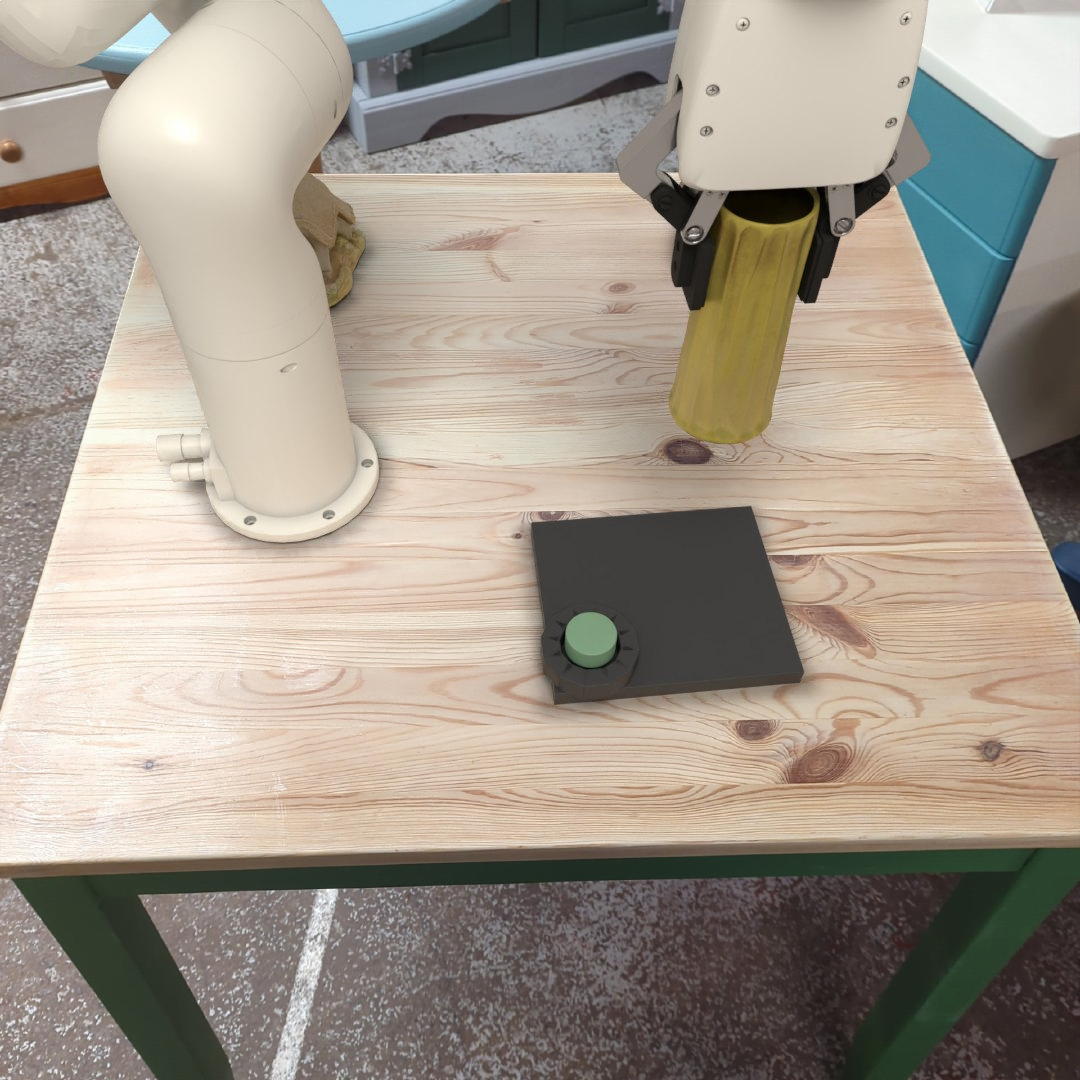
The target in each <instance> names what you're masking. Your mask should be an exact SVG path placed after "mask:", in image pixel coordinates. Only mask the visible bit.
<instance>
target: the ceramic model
mask: <svg viewBox="0 0 1080 1080" xmlns="http://www.w3.org/2000/svg"><path fill="white" fill-rule="evenodd" d="M292 212H293V217H294V220H295V222H296V225H297V227H298V228H299V230H300V231H301V233H302V234H303V235H304V237H305V238H306V239H307V240H308V242H309V243H310V244H311V246H312V248H313V250H314V251H315V254H316V256H317V259H318V261H319V264H320V268H321V271H322V275H323V280H324V284H325V290H326V295H327V300H328V305H329V308H331V307H332V306H335V305H336V304H338V303H339V302H341V300H342V299H344V298H345V296H347V295H348V294H349V293H350V291H351V290H352V288H353V285H354V279H353V277H354V276H353V272H354V270H355V269H356V268H357V264H358V262H359V260H360V258H361V256H362V254H363V253H364V251H365V248H366V236H365V234H364V232H363V231H362V230H359V229H357V227H356V228H355V227H353V226H352V225H355V224H356V223H357V221H356V215H355V213H354V209H353V206H352V205H351V204H349V202H347V201H345V200H343V199H341V198H339V196H336V195H335V194H334V193H333V192H331V190H330V189H329V187H328V186H327V185H326V184H325V182H323V181H321V180H320V179H319V178H317V177H316V176H315V175H313V174H312V173H311V172H309V170H308V171H307V173H306V174H305V175H304V177H303V178H302V180H301V181H300V183H299V184H298V186H297V188H296V191H295V194H294V198H293V204H292Z"/></svg>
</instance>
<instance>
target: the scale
mask: <svg viewBox="0 0 1080 1080" xmlns="http://www.w3.org/2000/svg"><path fill="white" fill-rule="evenodd" d="M530 538H531V539H530V540H531V544H532V545H531V546H532V553H533V560H534V567H535V575H536V583H537V588H538V596H539V604H540V611H541V618H542V626H543V631H542V634H541V635H540V646H539V648H540V649H539V652H540V659H541V667H542V671H543V674H544V675H545V676H546V677H547V678H548V679H549V680H550V684H551V691H552V692H551V693H552V699H553V705H554V706H558V705H559V706H560V705H569V704H570V705H571V704H580V703H582V704H583V703H592V702H604V701H614V700H615V701H616V700H623V699H625V700H626V699H636V698H637V699H638V698H647V697H659V696H668V695H669V696H670V695H680V694H681V695H682V694H689V693H703V692H713V691H724V690H732V689H733V690H737V689H746V688H759V687H768V686H769V687H770V686H779V685H780V686H781V685H789V684H790V685H792V684H800V683H801V681H802V678H803V676H804V674H805V670H804V666H803V663H802V660H801V657H800V654H799V651H798V648H797V645H796V641H795V639H794V636H793V632H792V629H791V626H790V622H789V619H788V617H787V616H788V615H787V613H786V610H785V607H784V604H783V601H782V597H781V594H780V592H779V589H778V585H777V582H776V579H775V576H774V573H773V571H772V570H773V569H772V566H771V564H770V560H769V557H768V554H767V550H766V548H765V545H764V541H763V539H762V535H761V532H760V529H759V526H758V522H757V520H756V517H755V513H754V510H753V507H752V505H745V506H743V505H742V506H732V507H731V506H730V507H717V508H703V509H692V510H691V509H690V510H680V511H664V512H652V513H639V514H638V513H637V514H626V515H625V514H624V515H612V516H611V515H609V516H598V517H586V518H585V517H583V518H571V519H558V520H557V519H556V520H543V521H531V522H530ZM586 612H595V613H599V614H602V615H604V616H606V617H607V618H609V619H610V620H611V621H612V622H613V624H614V625H615V627H616V630H617V642H616V649H615V653H614V655H613V657H612V658H611V660H610V661H609V662H607V663H606V664H604V665H602V666H599V667H595V668H587V667H583V666H580V665H578V664H576V663H574V662H573V661H572V660H571V659H570V658H569V657H568V655H567V653H566V650H565V634H566V627H567V625H568V623H569V622H570V621H571V620H572V619H573V618H574V617H575V616H577V615H579V614H581V613H586Z"/></svg>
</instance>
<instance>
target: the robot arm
mask: <svg viewBox="0 0 1080 1080" xmlns="http://www.w3.org/2000/svg"><path fill="white" fill-rule="evenodd" d="M928 7H929V0H685V1H684V4H683V9H682V12H681V16H680V21H679V25H678V30H677V33H676V34H677V35H676V38H675V42H674V49H673V54H672V58H671V63H670V68H669V72H668V78H667V83H666V90H665V91H666V92H665V95H664V102H663V107H662V108H661V109H660V110H659V111H658V112H657V113H656V115H654V116H653V117H652V119H650V121H649V122H648V123H647V124H645V126H644V127H643V128H642V129H641V130H640V131H639V132H638V133H637V134H636V135H635V136H634V137H633V138H632V140H631V141H630V142H629V143H628V144H627V145H626V146H625V147H624V148H623V149H622V150H621V151H620V152H619V153H618V154H617V156H616V158H615V160H614V161H615V163H614V164H615V167H616V170H617V174H618V176H619V180H620V181H621V183H623V184H624V185H625V186H626V187H628V189H630V190H631V191H633V192H634V193H635V194H636V195H638V197H641V198H642V199H643V200H646V201H647V202H648V203H649V204H651V205H652V207H653V209H654V210H655V211H656V212H657V213H658V214H659V215H660V216H661V217H662V218H663V219H664V220H665V221H666V222H667V223H668V224H669V225H670V226H672V228H673V229H675V235H674V241H673V242H674V243H673V249H672V255H671V261H670V263H671V264H670V276H671V281H672V284H673V287H674V288H681V289H682V292H683V296H684V299H685V301H686V305H687V309H688V310H689V312H690V311H693V310H700V309H701V307H704V305H705V300H706V294H707V289H708V283H709V278H710V273H711V267H712V262H713V256H714V243H713V241H712V238H711V235H710V233H709V231H710V227H711V225H712V224H713V222H714V220H715V218H716V216H717V214H718V212H719V210H720V208H721V207H722V205H723V203H724V201H725V199H726V197H727V195H728V193H729V191H742V190H765V189H785V188H803V187H814V188H815V189H816V190H817V192H818V194H819V196H820V209H819V214H818V220H817V224H816V228H815V232H814V236H813V239H812V243H811V247H810V250H809V254H808V257H807V260H806V264H805V267H804V271H803V275H802V279H801V282H800V286H799V290H798V293H797V296H798V299H799V301H800V302H803V304H816V302H817V300H818V296H819V294H820V290H821V286H822V283H823V280H825V279H828V278H829V277H830V274H831V271H832V267H833V264H834V262H835V261H834V260H835V257H836V254H837V251H838V247H839V244H840V240H841V237H845V236H847V235H849V234H851V232H852V231H853V230H854V229H855V227H856V222H857V221H856V220H857V219H858V218H859V217H861V216H863V214H866V212H867V211H869V210H870V209H871V208H873V207H874V206H876V205H877V204H878V203H880V202H881V201H882V200H884V199H885V198H886V197H887V196H888V195H889V193H890V192H891V188H893V187H894V186H895V187H897V186H899V185H901V184H902V183H904V182H905V181H906V180H908V179H910V178H911V177H912V176H914V175H915V174H917V173H918V172H920V171H921V170H923V169H924V168H926V167H927V166H928V165H929V163H930V162H931V159H932V154H931V152H930V150H929V148H928V147H927V145H926V143H925V141H924V140H923V137H922V135H921V134H920V132H919V131H918V129H917V127H916V124H915V123H914V121H913V119H912V118H911V116H910V114H909V112H908V109H909V106H910V105H909V104H910V101H911V97H912V94H913V88H914V84H915V80H916V76H917V72H918V67H919V63H920V58H921V57H920V56H921V53H922V52H921V51H922V47H923V42H924V36H925V28H926V23H927V15H928ZM149 14H152V15H153V17H154V18H155V19H156V20H157V21H158V22H159V23H160V24H161V25H162V26H163V28H165V30H166V31H167V32H168V33H169V35H168V36H167V37H166V39H164V40H163V41H162V42H161V43H160V44H159V45H158V46H157V47H156V48H155V49H154V50H153V51H151V53H150V54H149V55H148V56H146V57H145V59H144V60H142V61H141V63H139V64H138V65H137V67H135V69H133V71H132V72H131V73H130V74H129V75H127V77H126V79H124V81H123V82H122V83H121V84H120V85H119V87H118V88H117V90H116V92H115V93H114V95H113V96H112V97H111V99H110V101H109V103H108V105H107V107H106V109H105V111H104V113H103V116H102V119H101V122H100V126H99V130H98V135H97V144H96V146H97V148H96V149H97V150H96V151H97V161H98V167H99V170H100V174H101V177H102V180H103V183H104V185H105V187H106V189H107V191H108V194H109V196H110V197H111V199H112V201H113V203H114V204H115V207H116V208H117V209H118V211H119V214H120V215H121V216H122V218H123V220H124V221H125V223H126V224H127V227H129V229H130V231H131V232H132V234H133V235H134V237H135V239H136V241H137V243H138V244H139V246H140V248H141V249H142V252H143V254H144V255H145V258H146V260H147V262H148V264H149V266H150V268H151V270H152V273H153V275H154V278H155V280H156V283H157V285H158V288H159V290H160V293H161V295H162V298H163V300H164V304H165V306H166V310H167V312H168V315H169V318H170V320H171V324H172V326H173V329H174V333H175V334H176V337H177V339H178V342H179V345H180V348H181V352H182V354H183V357H184V360H185V363H186V366H187V368H188V371H189V374H190V378H191V380H192V383H193V387H194V390H195V393H196V395H197V398H198V401H199V404H200V408H201V410H202V413H203V416H204V418H205V419H204V420H205V423H206V424H207V428H201V430H200V433H198V434H197V433H196V434H184V433H174V434H159V435H157V436H156V440H155V450H156V456H157V458H158V461H159V462H174V461H175V462H174V463H170V466H169V475H170V479H171V481H172V483H181V482H183V483H184V482H193V481H198V480H204V481H205V490H206V494H207V497H208V500H209V503H210V505H211V507H212V509H213V511H214V513H215V515H216V516H217V517H218V518H219V519H220V521H221V522H222V523H224V525H226V526H227V527H228V528H230V529H232V530H233V531H234V532H236V533H238V534H239V535H243V536H245V537H248V538H250V539H253V540H257V541H263V542H267V543H268V542H269V543H284V544H285V543H295V542H303V541H307V540H312V539H316V538H319V537H322V536H324V535H326V534H329V533H333V532H334V531H336V530H338V529H340V528H341V527H343V526H345V525H347V524H348V523H350V522H351V521H353V519H354V518H356V517H357V516H358V515H359V514H360V513H361V512H362V511H363V510H365V507H367V505H368V504H369V503H370V501H371V499H372V498H373V496H374V495H375V493H376V490H377V487H378V483H379V479H380V464H379V463H380V462H379V456H378V453H377V450H376V447H375V444H374V442H373V441H372V439H371V438H370V436H369V435H368V433H366V432H365V430H363V429H362V428H361V427H360V426H359V425H358V424H356V423H354V422H353V421H351V420H350V415H349V409H348V405H347V399H346V398H347V397H346V393H345V388H344V382H343V377H342V370H341V366H340V360H339V355H338V349H337V344H336V339H335V333H334V327H333V323H332V316H331V310H330V307H329V305H328V300H327V295H326V290H325V284H324V280H323V275H322V271H321V268H320V264H319V261H318V259H317V256H316V254H315V251H314V250H313V248H312V246H311V244H310V243H309V242H308V240H307V239H306V238H305V237H304V235H303V234H302V233H301V231H300V230H299V228H298V227H297V225H296V222H295V220H294V217H293V212H292V204H293V198H294V194H295V191H296V188H297V186H298V184H299V183H300V181H301V180H302V178H303V177H304V175H305V174H306V173H307V171H308V172H309V171H310V168H311V166H312V164H313V162H314V161H315V160H316V159H317V157H318V156H319V154H320V153H321V152H322V150H323V149H324V147H325V146H326V145H327V143H328V142H329V140H331V138H332V136H333V135H334V134H335V132H336V131H337V129H338V128H339V126H340V124H341V122H343V119H344V117H345V115H346V113H347V112H348V109H349V107H350V105H351V100H352V98H353V97H352V96H353V91H354V68H353V62H352V57H351V54H350V51H349V47H348V45H347V43H346V40H345V38H344V35H343V33H342V31H341V29H340V28H339V26H338V24H337V22H336V21H335V19H334V17H333V15H332V14H331V13H330V11H329V10H328V8H327V6H326V5H325V3H324V2H323V0H0V41H1V42H2V43H3V44H4V45H6V46H7V47H8V48H9V49H10V50H12V51H13V52H15V53H16V54H18V55H20V57H23V58H25V60H27V61H29V62H32V63H35V64H38V65H41V66H45V67H49V68H53V69H54V68H57V69H62V68H70V67H74V66H78V65H81V64H85V63H87V62H89V61H90V60H92V59H95V58H96V57H97V56H98V55H100V54H101V53H103V52H104V51H106V50H108V49H109V48H110V47H112V46H114V44H116V43H117V42H118V41H119V40H121V38H123V37H125V35H127V33H129V32H130V31H131V30H133V29H134V28H135V27H136V26H137V25H138V24H139V23H141V22H142V20H144V19H145V18H146V17H147V16H148V15H149ZM675 149H676V157H677V158H678V166H677V167H678V168H677V171H678V178H679V181H680V182H679V183H678V182H677V181H676V180H675V179H674V178H673V177H672V176H671V175H670V174H669V173H668V172H666V171H663V170H661V169H659V166H660V164H661V163H662V162H663V161H664V160H665V159H666V158H667V157H668V156H669V155H670V154H671V153H672V152H673V151H674V150H675ZM198 458H202V459H203V461H202V462H201V461H200V462H190V461H189V462H188V461H187V459H198ZM176 461H187V462H176Z"/></svg>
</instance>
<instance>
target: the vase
mask: <svg viewBox="0 0 1080 1080" xmlns="http://www.w3.org/2000/svg"><path fill="white" fill-rule="evenodd" d="M819 209H820V196H819V194H818V192H817V190H816V189H815V188H814V187H803V188H785V189H765V190H742V191H729V193H728V195H727V197H726V199H725V201H724V203H723V205H722V207H721V208H720V210H719V212H718V214H717V216H716V218H715V220H714V222H713V224H712V225H711V227H710V231H709V233H710V235H711V238H712V241H713V243H714V256H713V262H712V267H711V273H710V278H709V283H708V289H707V294H706V300H705V305H704V307H701V309H700V310H693V311H690V310H689V313H688V318H687V324H686V329H685V334H684V337H683V342H682V344H681V345H682V346H681V349H680V353H679V358H678V363H677V369H676V373H675V377H674V382H673V385H672V387H671V389H670V392H669V395H668V400H667V402H668V410H669V413H670V416H671V417H672V419H673V420H674V422H675V424H676V425H677V426H678V427H679V428H680V429H681V430H683V431H684V432H685V433H686V434H689V435H690V436H692V437H694V438H696V439H698V440H700V441H703V442H707V443H711V444H715V445H716V444H717V445H737V444H741V443H745V442H747V441H751V440H752V439H754V438H756V437H758V436H759V435H761V434H762V433H763V432H764V431H765V430H766V429H767V427H768V426H769V425H770V423H771V421H772V417H773V406H774V400H775V395H776V391H777V387H778V383H779V380H780V375H781V371H782V366H783V360H784V356H785V350H786V346H787V341H788V338H789V333H790V327H791V323H792V317H793V312H794V308H795V303H796V299H797V296H798V294H797V293H798V290H799V286H800V282H801V279H802V275H803V271H804V267H805V264H806V260H807V257H808V254H809V250H810V247H811V243H812V239H813V236H814V232H815V228H816V224H817V220H818V214H819Z"/></svg>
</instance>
